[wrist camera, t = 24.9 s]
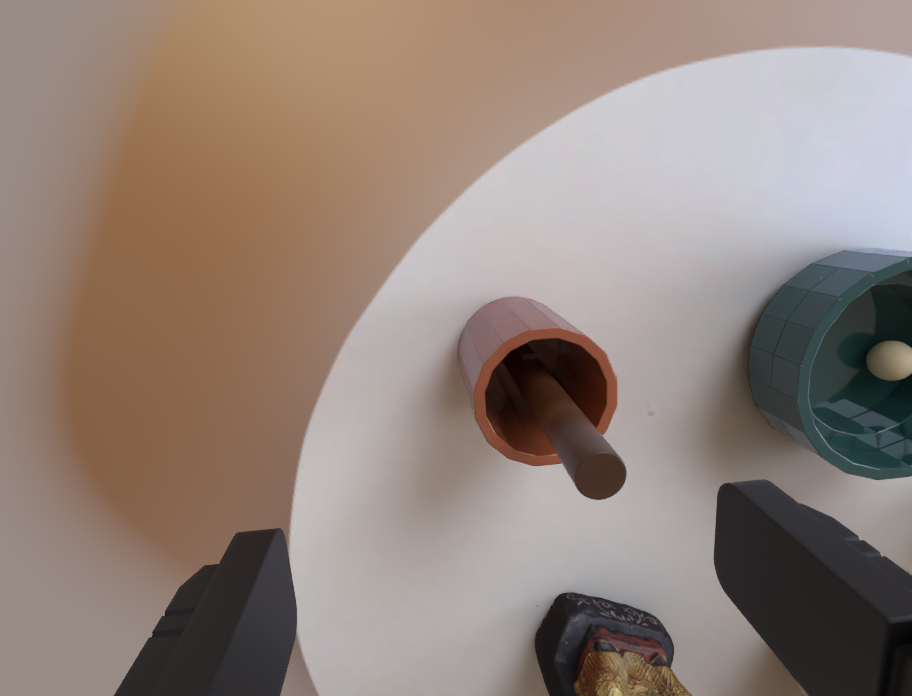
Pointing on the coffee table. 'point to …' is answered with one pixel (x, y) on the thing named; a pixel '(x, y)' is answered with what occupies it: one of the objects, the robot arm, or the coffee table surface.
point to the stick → (567, 427)
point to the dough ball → (890, 360)
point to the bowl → (839, 361)
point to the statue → (604, 650)
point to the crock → (560, 353)
